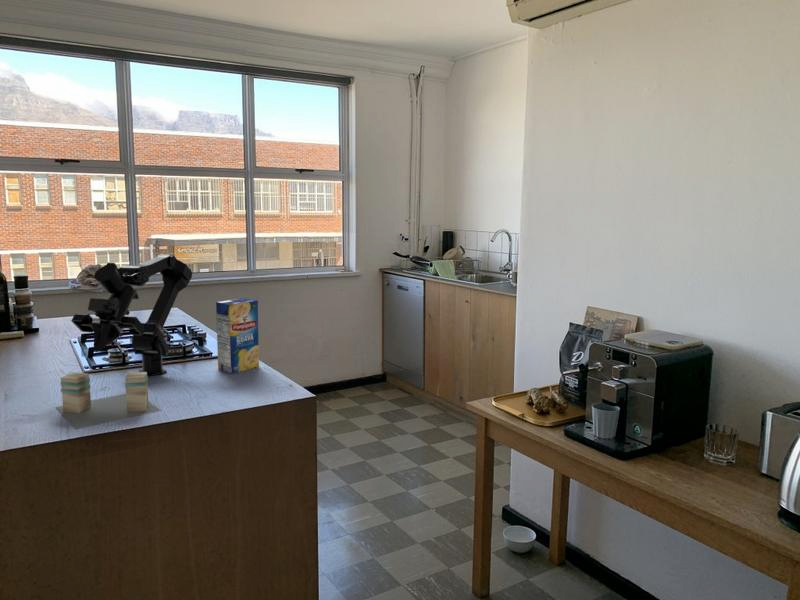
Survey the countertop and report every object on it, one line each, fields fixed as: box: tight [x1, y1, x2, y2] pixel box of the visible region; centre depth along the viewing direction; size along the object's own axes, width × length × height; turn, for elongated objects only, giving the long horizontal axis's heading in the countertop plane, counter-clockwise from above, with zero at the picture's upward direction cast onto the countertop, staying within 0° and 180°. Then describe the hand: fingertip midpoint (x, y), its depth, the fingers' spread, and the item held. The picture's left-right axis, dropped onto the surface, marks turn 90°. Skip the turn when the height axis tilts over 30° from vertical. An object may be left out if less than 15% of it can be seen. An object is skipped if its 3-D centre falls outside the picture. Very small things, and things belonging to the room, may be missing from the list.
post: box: [124, 371, 149, 412], centre depth 156 cm, size 5×5×9 cm
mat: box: [54, 393, 162, 430], centre depth 156 cm, size 19×20×1 cm
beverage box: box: [215, 297, 260, 375], centre depth 193 cm, size 7×11×22 cm, turn 142°
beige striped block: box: [60, 372, 92, 413], centre depth 154 cm, size 5×5×9 cm
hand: (95, 351), depth 161 cm, fingers closed
